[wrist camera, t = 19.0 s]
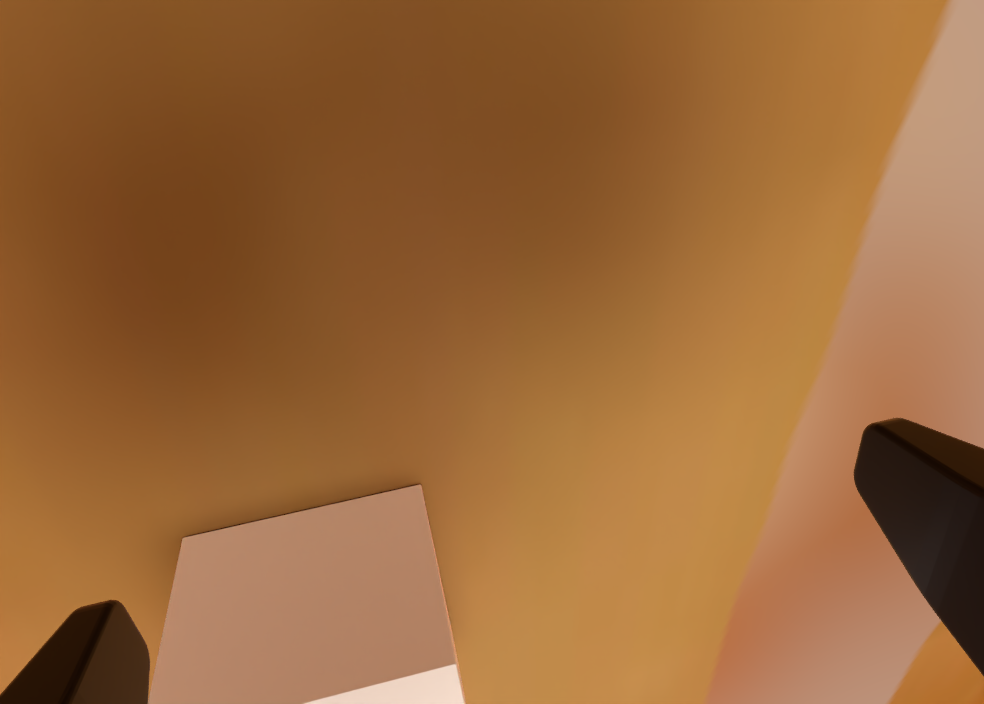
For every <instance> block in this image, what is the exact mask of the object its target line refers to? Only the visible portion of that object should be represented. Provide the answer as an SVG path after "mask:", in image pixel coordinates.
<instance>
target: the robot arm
mask: <svg viewBox="0 0 984 704" xmlns="http://www.w3.org/2000/svg"><path fill="white" fill-rule="evenodd" d="M854 480H855V485H856V487H857V490H858V492H859V493H860V495H861V497H862V499H863V500H864V502H865V503H866V505H867V507H868V508H869V510H870V512H871V513H872V515H873V516H874V518H875V520H876V521H877V523H878V525H879V526H880V528H881V529H882V531H883V533H884V534H885V536H886V538H887V539H888V541H889V542H890V544H891V546H892V547H893V549H894V550H895V552H896V554H897V555H898V557H899V559H900V560H901V562H902V563H903V565H904V567H905V568H906V570H907V571H908V573H909V575H910V576H911V578H912V579H913V581H914V583H915V584H916V586H917V587H918V589H919V590H920V591H921V593H922V594H923V596H924V598H925V599H926V600H927V602H928V603H929V605H930V606H931V607H932V608H933V610H934V611H935V613H936V614H937V616H938V617H939V618H940V619H941V621H942V622H943V623H944V625H945V626H946V627H947V629H948V630H949V631H950V633H951V634H952V635H953V637H954V638H955V639H956V641H957V642H958V643H959V645H960V646H961V647H962V648H963V650H964V651H965V652H966V654H967V655H968V656H969V658H970V659H971V660H972V662H973V663H974V664H975V666H976V667H977V668H978V670H979V671H980V672H981V673H982V675H983V676H984V449H983V448H981V447H978V446H975V445H973V444H970V443H967V442H965V441H962V440H959V439H957V438H954V437H951V436H949V435H946V434H944V433H941V432H938V431H936V430H933V429H930V428H928V427H925V426H922V425H919V424H917V423H914V422H912V421H909V420H906V419H903V418H893V419H888V420H884V421H880V422H875V423H871V424H870V425H868V426H867V427H866V428H865V430H864V431H863V434H862V439H861V443H860V447H859V451H858V456H857V460H856V464H855V469H854ZM149 672H150V658H149V652H148V648H147V645H146V643H145V641H144V639H143V637H142V636H141V634H140V632H139V631H138V629H137V627H136V626H135V624H134V622H133V620H132V619H131V617H130V615H129V614H128V612H127V610H126V609H125V607H124V606H123V605H122V603H120V602H119V601H117V600H108V601H104V602H100V603H95V604H91V605H87V606H83V607H80V608H78V609H76V610H75V611H74V612H73V613H72V614H71V615H70V616H69V617H68V618H67V619H66V620H65V621H64V622H63V623H62V625H61V626H60V627H59V628H58V629H57V630H56V632H55V633H54V634H53V635H52V636H51V637H50V638H49V640H48V641H47V642H46V643H45V644H44V645H43V646H42V648H41V649H40V650H39V651H38V652H37V653H36V654H35V656H34V657H33V658H32V659H31V660H30V661H29V662H28V664H27V665H26V666H25V667H24V668H23V669H22V670H21V672H20V673H19V674H18V675H17V676H16V677H15V678H14V680H13V681H12V682H11V683H10V684H9V685H8V686H7V688H6V689H5V690H4V691H3V692H2V693H1V694H0V704H148V689H149Z"/></svg>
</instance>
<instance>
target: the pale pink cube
mask: <svg viewBox="0 0 984 704" xmlns="http://www.w3.org/2000/svg"><path fill="white" fill-rule="evenodd" d="M148 704H466V701H465V695H464V690H463V685H462V680H461V675H460V670H459V665H458V660H457V655H456V650H455V645H454V640H453V635H452V629H451V625H450V620H449V615H448V610H447V606H446V601H445V596H444V591H443V586H442V582H441V577H440V572H439V567H438V563H437V558H436V553H435V548H434V543H433V539H432V534H431V529H430V524H429V520H428V515H427V510H426V505H425V500H424V496H423V491H422V486H421V484H420V485H415V486H411V487H406V488H402V489H398V490H393V491H389V492H384V493H380V494H375V495H371V496H367V497H362V498H358V499H353V500H349V501H344V502H340V503H335V504H331V505H327V506H322V507H318V508H313V509H309V510H304V511H300V512H295V513H291V514H287V515H282V516H278V517H273V518H269V519H264V520H260V521H255V522H251V523H247V524H242V525H238V526H233V527H229V528H224V529H220V530H215V531H211V532H207V533H202V534H198V535H193V536H189V537H184V538H183V539H182V544H181V548H180V553H179V558H178V563H177V567H176V572H175V577H174V582H173V586H172V591H171V596H170V601H169V605H168V610H167V615H166V620H165V624H164V629H163V634H162V639H161V643H160V648H159V653H158V658H157V662H156V667H155V672H154V677H153V681H152V686H151V691H150V696H149V700H148Z"/></svg>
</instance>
